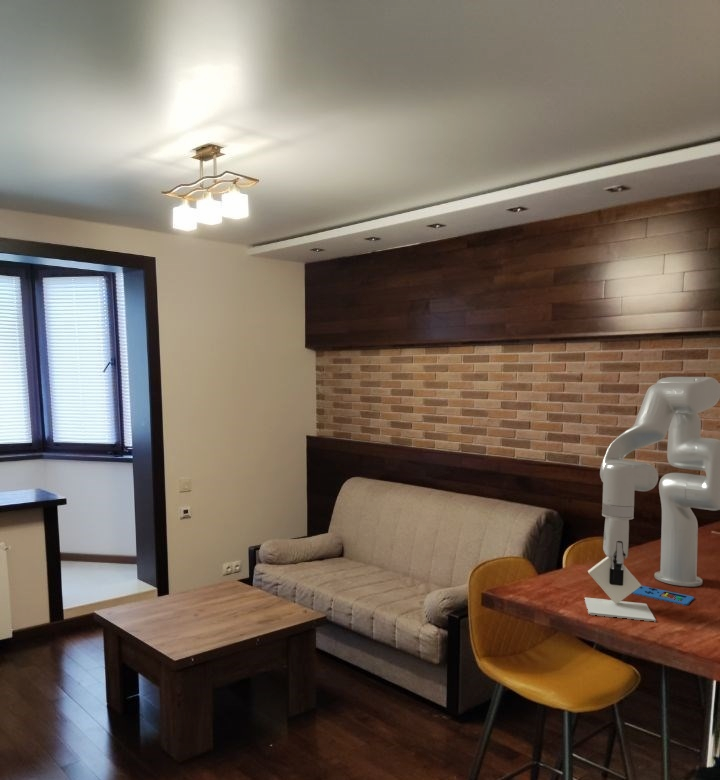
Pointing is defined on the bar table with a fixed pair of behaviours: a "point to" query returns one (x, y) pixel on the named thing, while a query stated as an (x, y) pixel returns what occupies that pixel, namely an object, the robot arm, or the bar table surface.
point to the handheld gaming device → (663, 595)
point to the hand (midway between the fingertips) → (615, 582)
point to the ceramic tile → (603, 576)
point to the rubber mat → (619, 609)
